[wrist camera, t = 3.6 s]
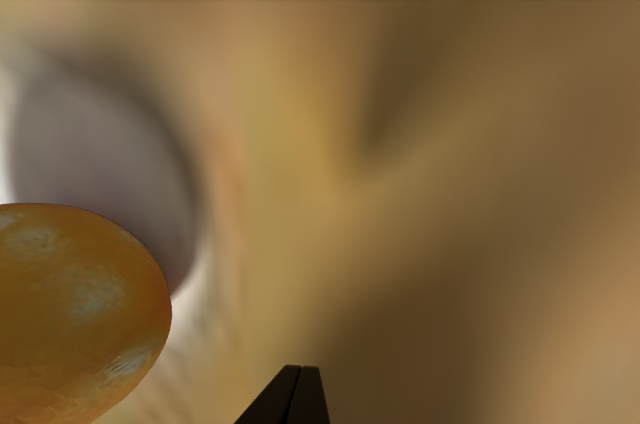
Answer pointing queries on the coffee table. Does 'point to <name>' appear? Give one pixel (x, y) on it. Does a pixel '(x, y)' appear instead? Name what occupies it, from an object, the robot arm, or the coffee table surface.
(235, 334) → the coffee table surface
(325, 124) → the coffee table surface
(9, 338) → the fruit
